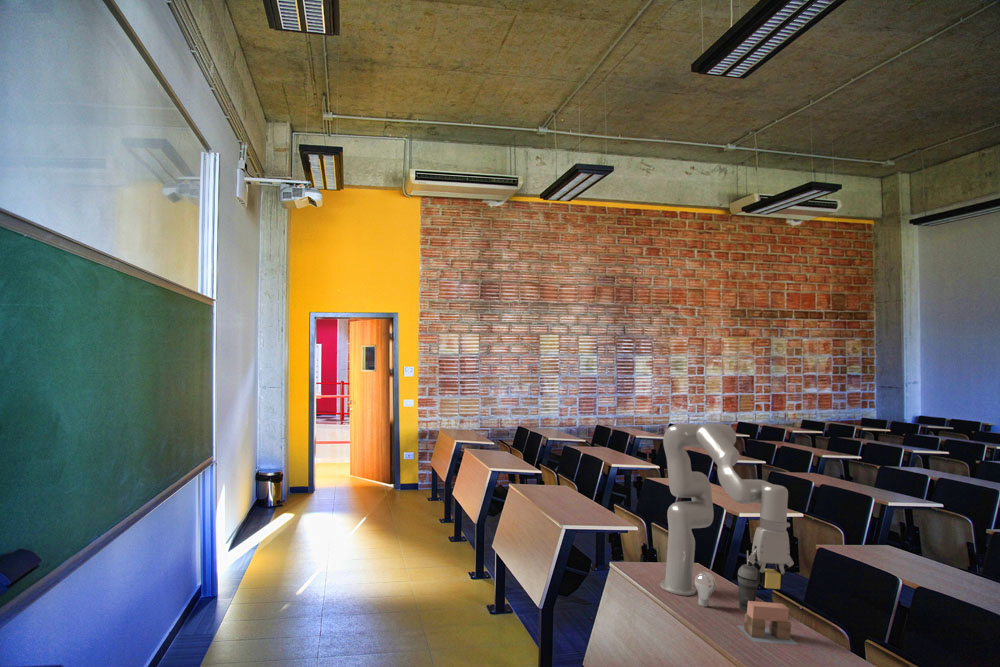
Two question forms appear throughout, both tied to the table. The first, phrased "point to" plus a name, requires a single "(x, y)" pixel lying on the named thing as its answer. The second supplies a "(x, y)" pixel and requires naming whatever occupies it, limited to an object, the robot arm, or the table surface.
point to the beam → (768, 611)
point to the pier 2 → (780, 629)
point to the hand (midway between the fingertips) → (769, 584)
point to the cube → (772, 579)
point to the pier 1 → (754, 627)
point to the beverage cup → (747, 584)
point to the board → (768, 638)
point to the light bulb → (704, 587)
